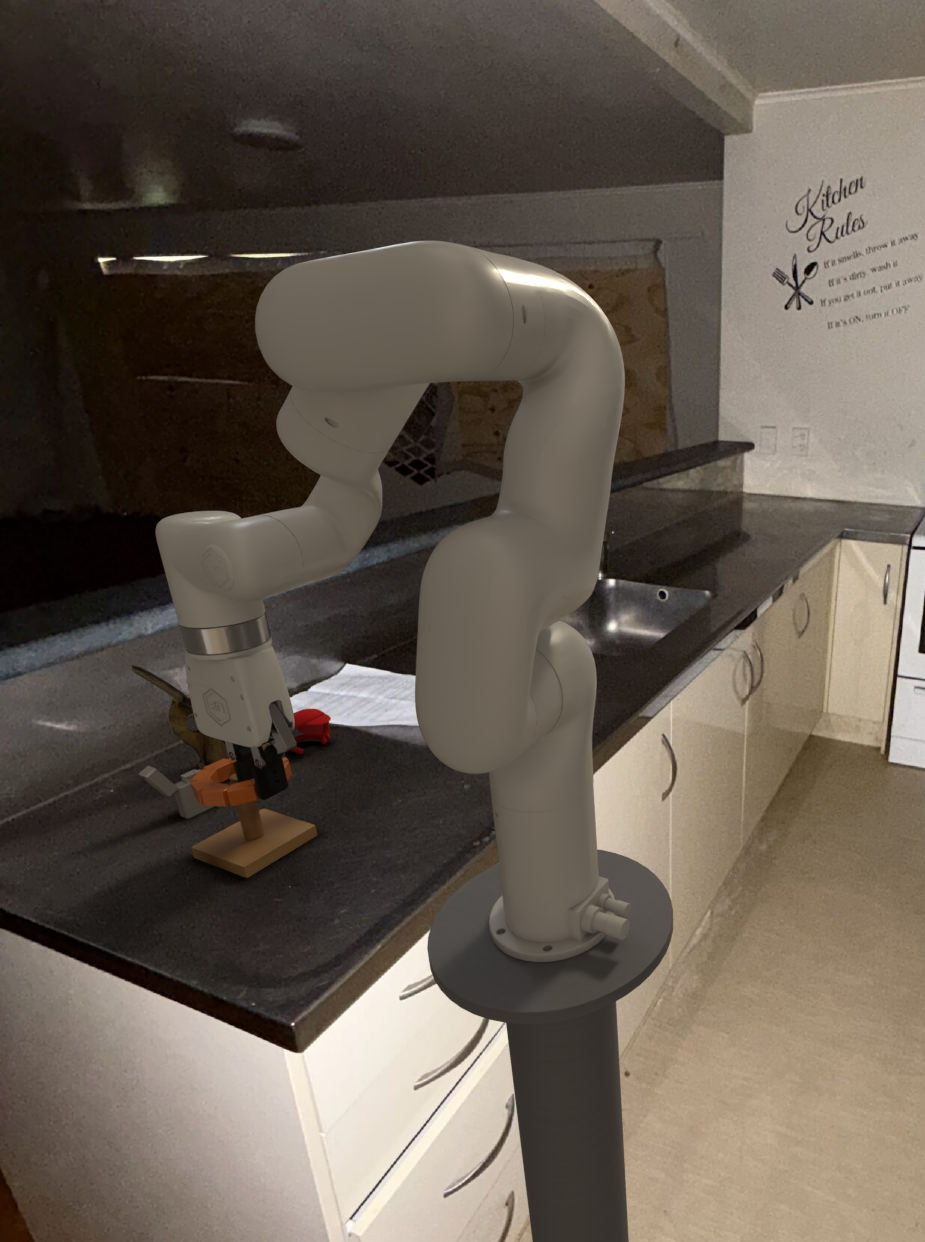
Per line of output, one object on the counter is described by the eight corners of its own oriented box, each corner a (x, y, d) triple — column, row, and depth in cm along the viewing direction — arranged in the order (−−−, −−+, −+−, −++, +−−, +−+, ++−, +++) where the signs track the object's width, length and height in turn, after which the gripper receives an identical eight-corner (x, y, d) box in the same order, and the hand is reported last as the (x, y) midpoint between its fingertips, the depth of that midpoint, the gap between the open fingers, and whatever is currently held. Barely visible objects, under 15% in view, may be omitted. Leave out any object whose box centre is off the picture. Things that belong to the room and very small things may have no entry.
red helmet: (271, 757, 108) (262, 719, 106) (291, 738, 113) (284, 702, 111) (327, 757, 108) (320, 719, 106) (345, 738, 114) (338, 702, 112)
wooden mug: (151, 783, 101) (113, 658, 95) (253, 744, 112) (226, 630, 105) (183, 802, 97) (146, 672, 90) (287, 759, 107) (260, 641, 101)
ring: (309, 773, 87) (306, 759, 86) (231, 814, 79) (227, 799, 78) (255, 758, 90) (252, 745, 90) (175, 796, 82) (171, 781, 82)
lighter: (213, 799, 97) (198, 744, 94) (221, 803, 96) (206, 747, 94) (153, 827, 91) (136, 769, 88) (161, 831, 90) (144, 772, 88)
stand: (317, 835, 90) (302, 765, 86) (246, 878, 82) (227, 803, 79) (266, 818, 93) (249, 750, 90) (193, 858, 86) (172, 785, 82)
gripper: (140, 635, 77) (185, 792, 83) (245, 657, 71) (284, 824, 77) (212, 615, 83) (248, 762, 89) (314, 633, 77) (345, 790, 83)
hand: (265, 789), depth 83 cm, fingers closed on ring, 2 cm apart
